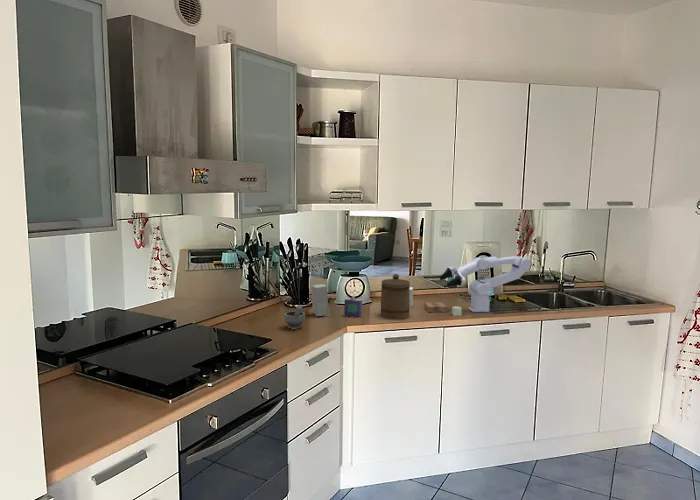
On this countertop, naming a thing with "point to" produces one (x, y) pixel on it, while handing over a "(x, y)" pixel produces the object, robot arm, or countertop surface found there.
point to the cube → (456, 311)
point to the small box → (411, 297)
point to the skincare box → (320, 300)
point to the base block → (435, 307)
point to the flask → (353, 307)
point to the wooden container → (395, 298)
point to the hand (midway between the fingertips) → (443, 281)
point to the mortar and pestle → (295, 317)
